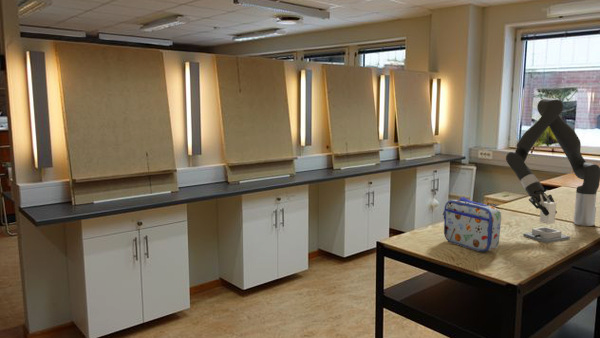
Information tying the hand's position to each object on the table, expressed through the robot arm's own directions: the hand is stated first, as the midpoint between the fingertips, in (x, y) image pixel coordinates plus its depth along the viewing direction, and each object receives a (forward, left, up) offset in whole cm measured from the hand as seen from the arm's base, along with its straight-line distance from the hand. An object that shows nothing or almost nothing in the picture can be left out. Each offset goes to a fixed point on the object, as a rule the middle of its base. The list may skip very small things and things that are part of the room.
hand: (551, 214), depth 221 cm
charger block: (0, -2, -5) cm, 5 cm away
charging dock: (0, -2, -12) cm, 12 cm away
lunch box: (+44, -7, -12) cm, 46 cm away
